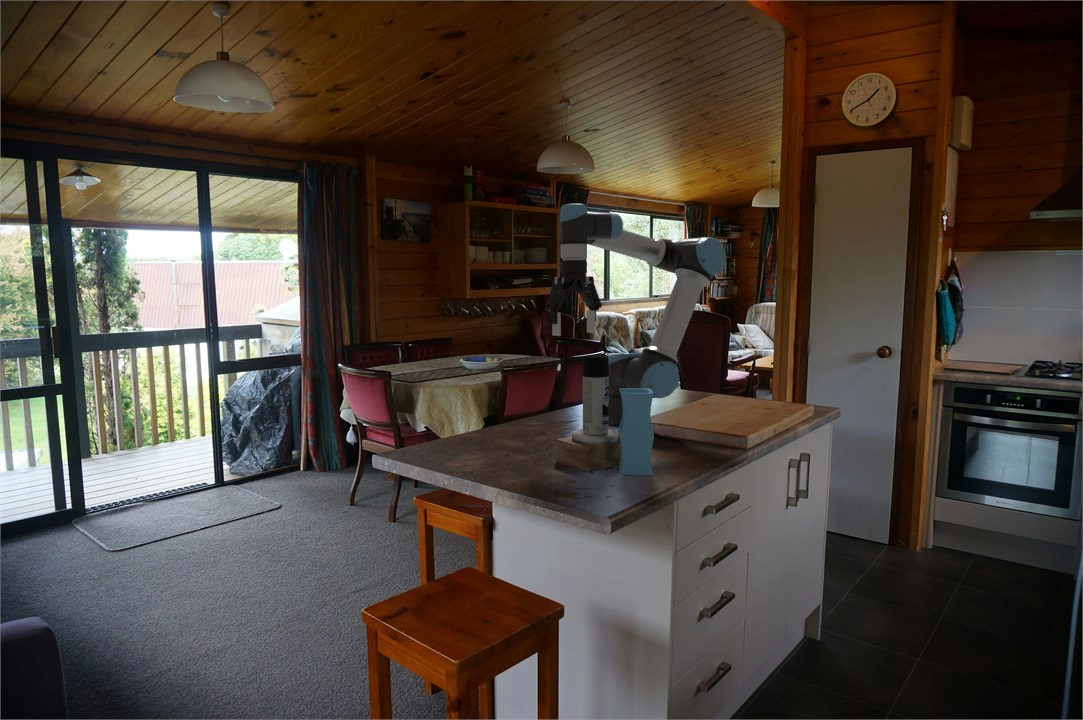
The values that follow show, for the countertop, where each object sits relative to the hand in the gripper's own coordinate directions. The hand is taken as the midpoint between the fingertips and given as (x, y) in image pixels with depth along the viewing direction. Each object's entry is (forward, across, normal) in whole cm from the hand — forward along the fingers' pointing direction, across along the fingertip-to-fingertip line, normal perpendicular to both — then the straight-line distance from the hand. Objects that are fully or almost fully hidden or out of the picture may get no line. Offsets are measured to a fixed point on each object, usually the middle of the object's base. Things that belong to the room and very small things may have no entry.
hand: (574, 334), depth 203 cm
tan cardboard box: (+31, +13, +21) cm, 40 cm away
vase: (+31, +11, +34) cm, 47 cm away
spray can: (+24, +13, +21) cm, 34 cm away
